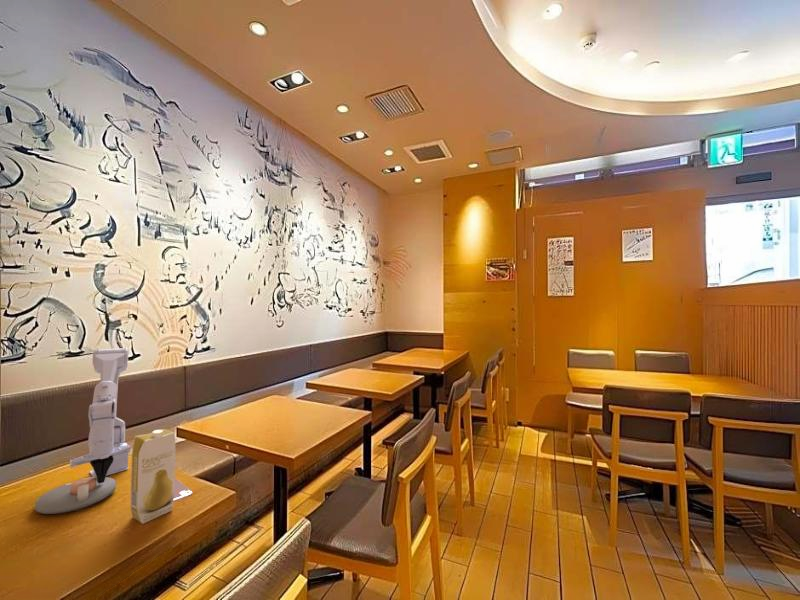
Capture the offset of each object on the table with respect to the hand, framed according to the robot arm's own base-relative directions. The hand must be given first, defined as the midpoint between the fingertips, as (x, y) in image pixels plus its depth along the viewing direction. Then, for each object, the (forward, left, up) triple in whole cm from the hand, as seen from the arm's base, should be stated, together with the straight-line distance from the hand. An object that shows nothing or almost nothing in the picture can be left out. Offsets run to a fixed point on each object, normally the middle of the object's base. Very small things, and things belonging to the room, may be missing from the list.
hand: (100, 481), depth 109 cm
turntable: (+5, 0, -2) cm, 6 cm away
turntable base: (+5, 0, -3) cm, 6 cm away
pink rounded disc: (+4, 0, -1) cm, 4 cm away
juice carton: (-7, +26, -4) cm, 27 cm away
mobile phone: (-15, +16, -4) cm, 22 cm away
